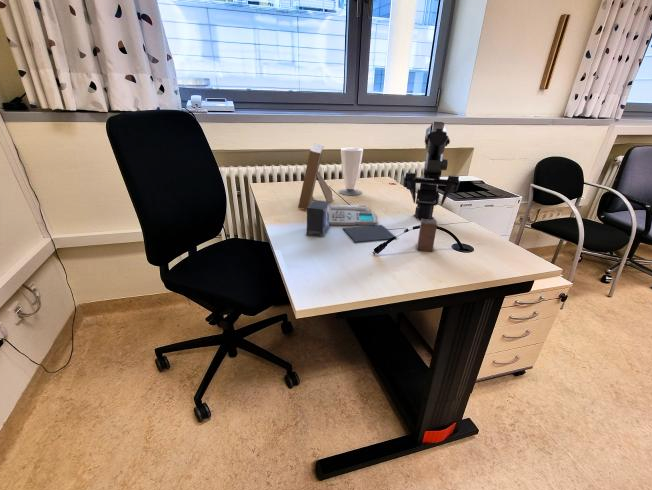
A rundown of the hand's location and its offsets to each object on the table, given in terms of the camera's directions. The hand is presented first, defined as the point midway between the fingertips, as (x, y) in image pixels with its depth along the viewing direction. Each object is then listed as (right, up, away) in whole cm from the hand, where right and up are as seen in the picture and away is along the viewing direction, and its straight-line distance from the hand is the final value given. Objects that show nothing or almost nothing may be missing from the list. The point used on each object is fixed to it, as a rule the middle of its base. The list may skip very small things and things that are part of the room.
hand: (427, 203), depth 116 cm
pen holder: (-1, -15, 0) cm, 15 cm away
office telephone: (-25, +1, +28) cm, 38 cm away
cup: (-24, +21, +63) cm, 70 cm away
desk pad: (-19, -9, +11) cm, 24 cm away
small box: (-38, -8, +12) cm, 41 cm away
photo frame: (-41, +10, +44) cm, 61 cm away
